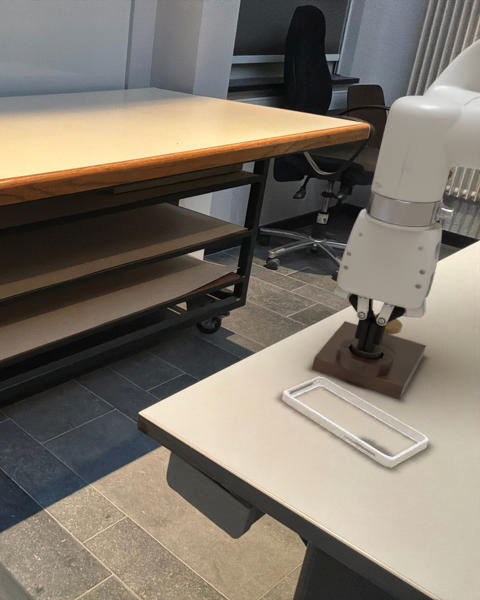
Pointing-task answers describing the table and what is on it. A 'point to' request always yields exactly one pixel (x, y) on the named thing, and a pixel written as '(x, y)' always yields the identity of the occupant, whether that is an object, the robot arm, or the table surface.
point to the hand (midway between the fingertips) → (366, 346)
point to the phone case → (365, 407)
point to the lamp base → (370, 362)
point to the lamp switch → (362, 353)
